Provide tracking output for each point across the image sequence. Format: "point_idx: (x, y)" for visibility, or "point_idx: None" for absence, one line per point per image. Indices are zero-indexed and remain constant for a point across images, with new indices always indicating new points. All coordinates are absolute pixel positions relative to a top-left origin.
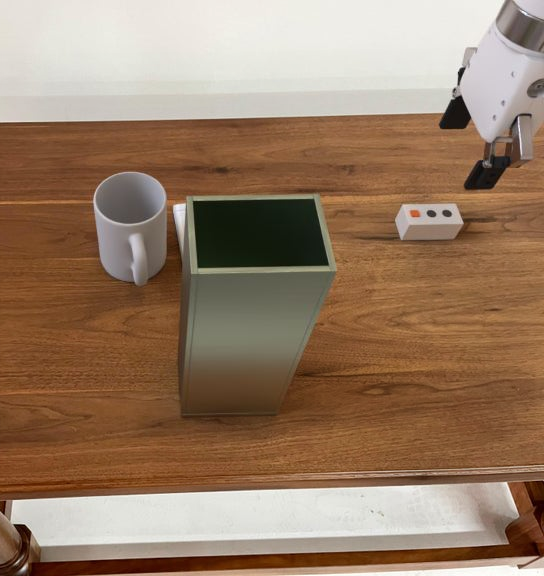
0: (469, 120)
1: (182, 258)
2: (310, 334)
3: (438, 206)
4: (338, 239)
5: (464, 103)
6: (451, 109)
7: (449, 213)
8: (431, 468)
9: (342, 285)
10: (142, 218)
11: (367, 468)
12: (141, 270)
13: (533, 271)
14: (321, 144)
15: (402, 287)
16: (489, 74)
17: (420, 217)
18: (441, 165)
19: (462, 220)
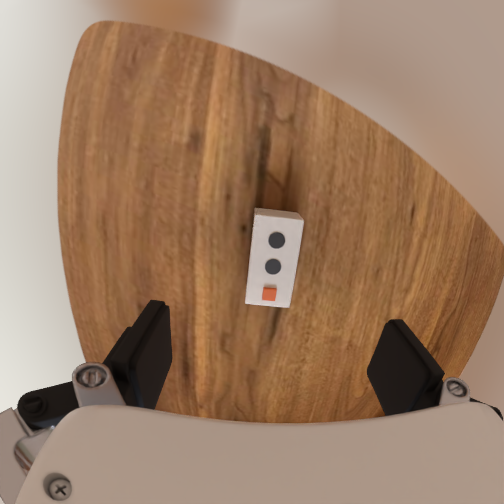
0: (159, 321)
1: None
2: None
3: (258, 248)
4: (268, 359)
5: (140, 401)
6: (153, 407)
7: (277, 236)
8: (484, 328)
9: (333, 368)
10: None
11: (464, 366)
12: None
13: (370, 123)
14: (106, 327)
15: (356, 311)
16: None
17: (277, 286)
18: (139, 171)
19: (296, 219)
